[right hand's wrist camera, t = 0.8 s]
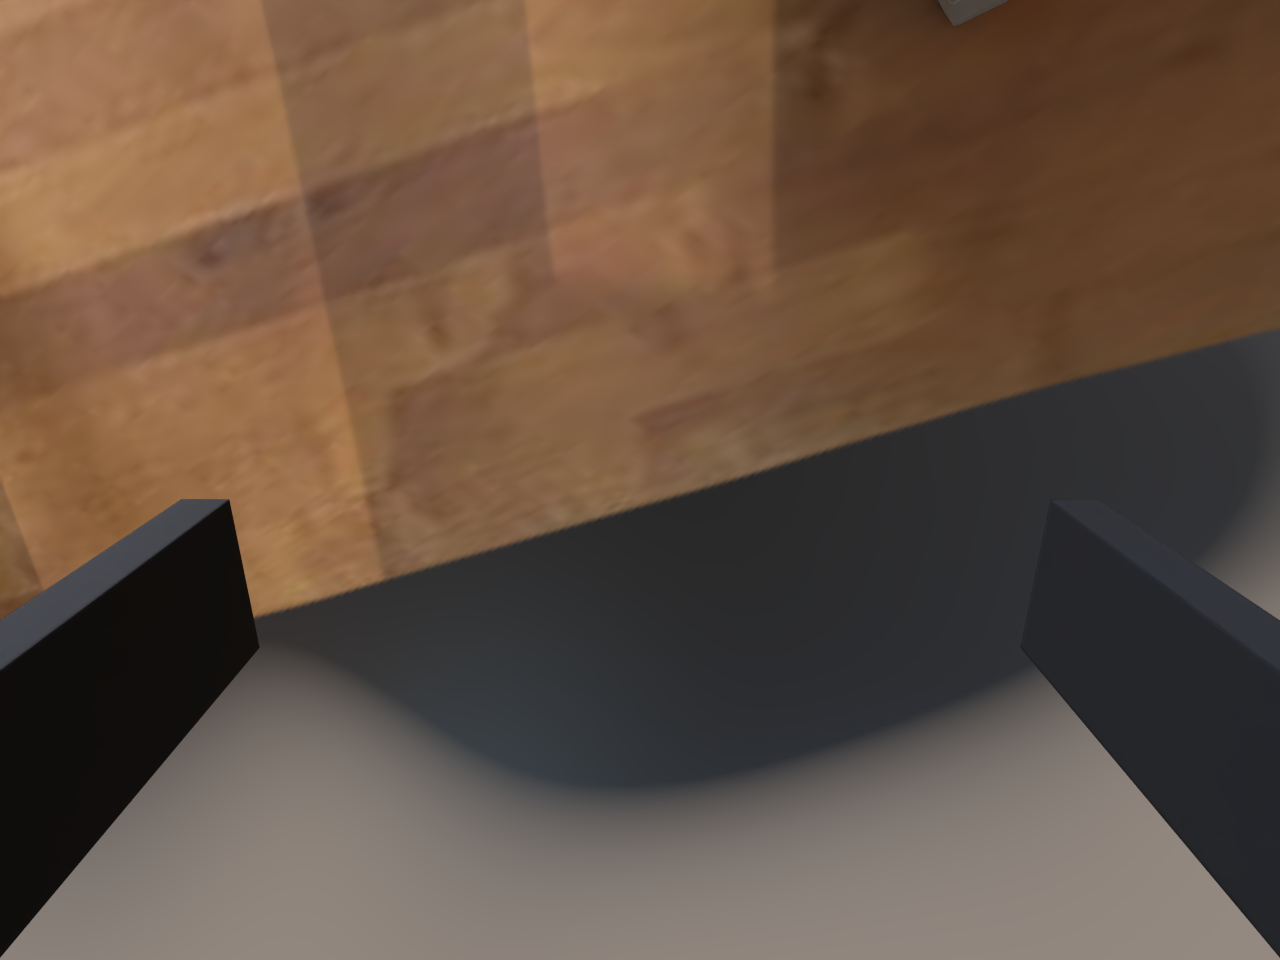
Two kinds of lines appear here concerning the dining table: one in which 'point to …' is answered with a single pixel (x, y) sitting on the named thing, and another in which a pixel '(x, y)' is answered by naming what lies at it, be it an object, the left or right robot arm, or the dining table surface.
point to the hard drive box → (967, 9)
